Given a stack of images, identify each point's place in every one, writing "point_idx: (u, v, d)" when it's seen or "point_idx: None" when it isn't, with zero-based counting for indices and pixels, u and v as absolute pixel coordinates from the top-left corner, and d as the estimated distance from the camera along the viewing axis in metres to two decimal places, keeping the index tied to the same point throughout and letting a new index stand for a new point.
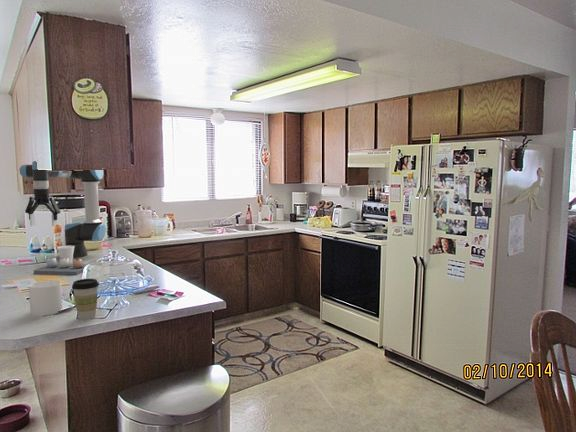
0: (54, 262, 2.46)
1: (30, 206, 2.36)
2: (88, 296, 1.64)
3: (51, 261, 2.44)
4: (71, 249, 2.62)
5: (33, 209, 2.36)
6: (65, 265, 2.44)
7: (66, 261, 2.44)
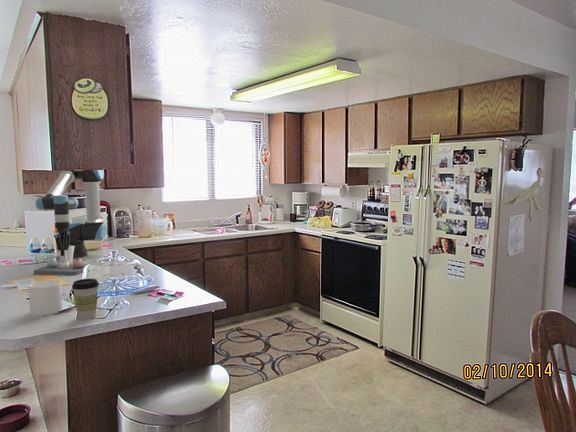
0: (54, 262, 2.46)
1: None
2: (88, 296, 1.64)
3: (51, 261, 2.44)
4: (71, 249, 2.62)
5: None
6: (65, 268, 2.44)
7: (66, 264, 2.45)
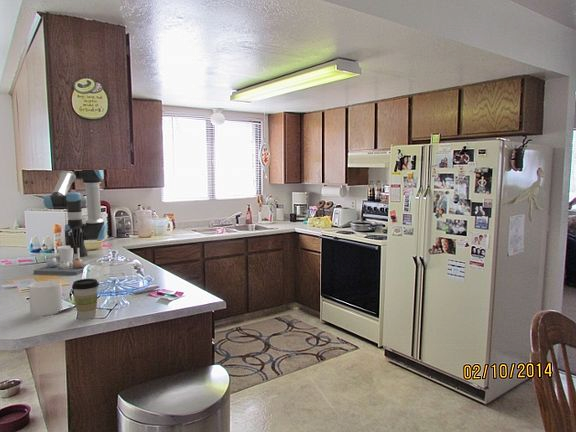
0: (54, 262, 2.46)
1: None
2: (88, 296, 1.64)
3: (51, 261, 2.44)
4: (71, 249, 2.62)
5: None
6: (65, 268, 2.44)
7: (66, 264, 2.45)
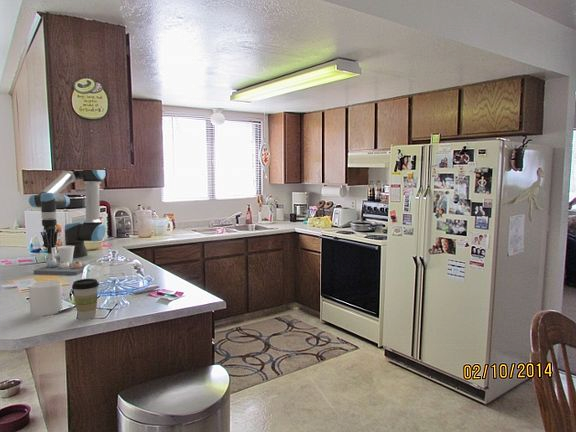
0: (54, 262, 2.46)
1: None
2: (88, 296, 1.64)
3: (51, 261, 2.44)
4: (71, 249, 2.62)
5: None
6: (65, 268, 2.44)
7: (66, 264, 2.45)
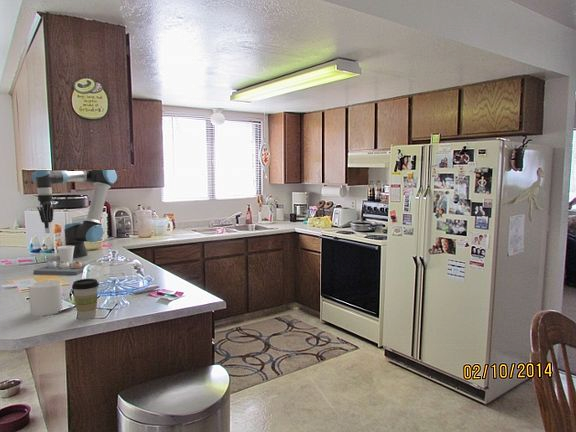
0: (55, 265, 2.46)
1: None
2: (88, 296, 1.64)
3: (51, 264, 2.45)
4: (71, 249, 2.62)
5: None
6: (65, 268, 2.44)
7: (66, 264, 2.45)
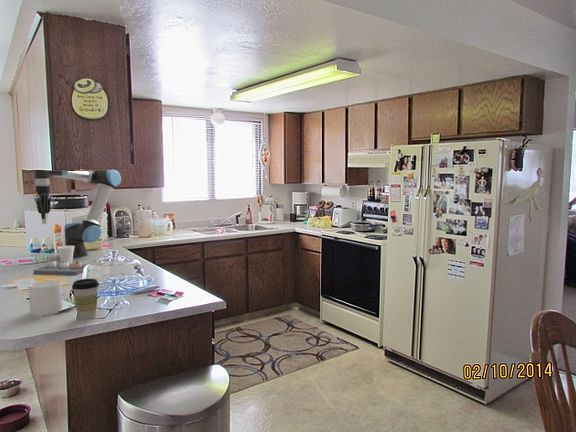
0: (55, 265, 2.46)
1: None
2: (88, 296, 1.64)
3: (51, 264, 2.45)
4: (71, 249, 2.62)
5: None
6: (65, 268, 2.44)
7: (66, 264, 2.45)
